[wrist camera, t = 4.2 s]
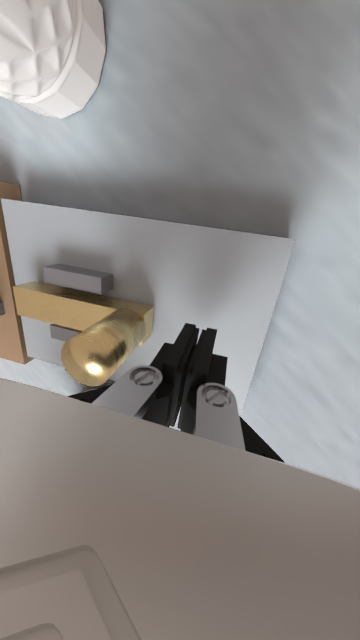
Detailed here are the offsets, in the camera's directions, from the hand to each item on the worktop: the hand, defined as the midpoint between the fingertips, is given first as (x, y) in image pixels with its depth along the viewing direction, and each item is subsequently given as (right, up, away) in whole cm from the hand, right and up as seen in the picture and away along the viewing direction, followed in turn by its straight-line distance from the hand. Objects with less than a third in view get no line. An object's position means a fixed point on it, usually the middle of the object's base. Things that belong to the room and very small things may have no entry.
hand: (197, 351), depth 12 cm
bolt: (-7, +2, +4) cm, 8 cm away
